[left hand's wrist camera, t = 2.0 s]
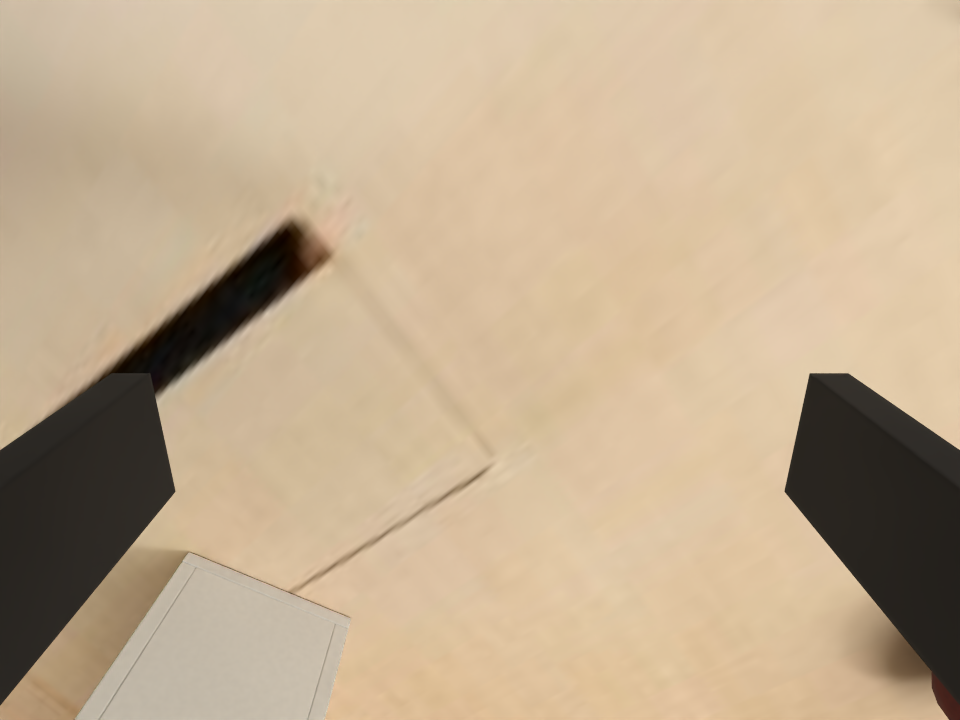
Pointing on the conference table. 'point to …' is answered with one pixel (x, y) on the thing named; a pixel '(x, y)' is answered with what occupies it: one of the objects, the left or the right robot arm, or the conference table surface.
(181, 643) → the chest
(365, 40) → the conference table surface
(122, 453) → the left robot arm
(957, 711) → the dark red-brown ball
